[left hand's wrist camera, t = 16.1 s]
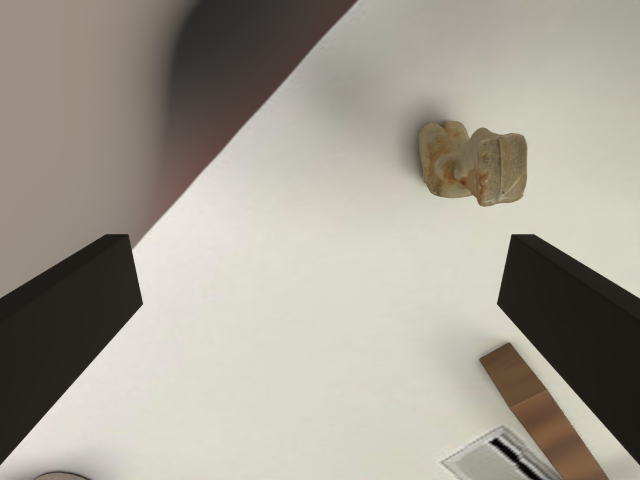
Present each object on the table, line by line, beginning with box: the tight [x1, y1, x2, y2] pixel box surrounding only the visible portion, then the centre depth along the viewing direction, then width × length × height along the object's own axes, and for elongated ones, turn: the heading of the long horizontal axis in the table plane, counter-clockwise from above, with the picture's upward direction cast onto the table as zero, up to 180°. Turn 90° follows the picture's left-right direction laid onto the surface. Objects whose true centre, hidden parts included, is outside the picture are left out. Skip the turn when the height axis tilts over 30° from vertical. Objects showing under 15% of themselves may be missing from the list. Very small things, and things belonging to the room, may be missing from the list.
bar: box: [479, 343, 609, 480], centre depth 49 cm, size 36×5×8 cm, turn 38°
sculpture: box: [418, 121, 527, 207], centre depth 31 cm, size 6×7×15 cm
